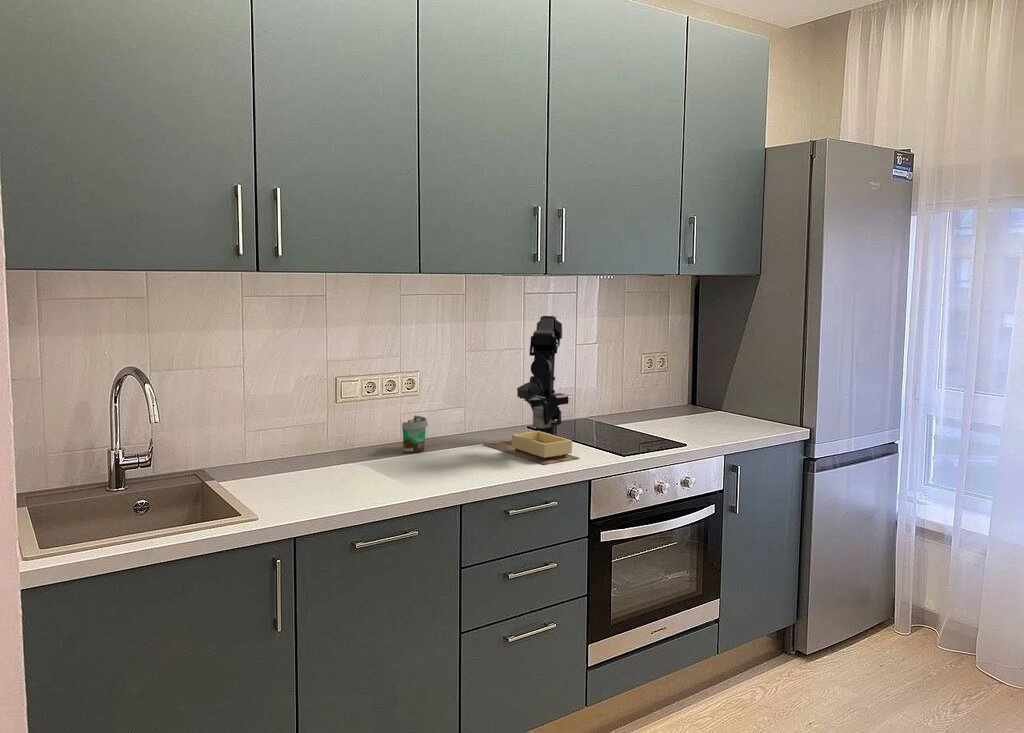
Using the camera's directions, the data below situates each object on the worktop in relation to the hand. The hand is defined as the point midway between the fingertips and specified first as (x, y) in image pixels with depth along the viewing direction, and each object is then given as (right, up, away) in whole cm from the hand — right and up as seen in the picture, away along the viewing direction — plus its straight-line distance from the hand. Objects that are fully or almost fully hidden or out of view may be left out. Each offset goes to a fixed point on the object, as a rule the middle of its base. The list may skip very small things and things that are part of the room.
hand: (541, 423), depth 258 cm
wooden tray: (0, -10, +1) cm, 10 cm away
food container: (-39, -9, +5) cm, 40 cm away
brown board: (-4, -9, +6) cm, 12 cm away
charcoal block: (0, -1, 0) cm, 1 cm away
